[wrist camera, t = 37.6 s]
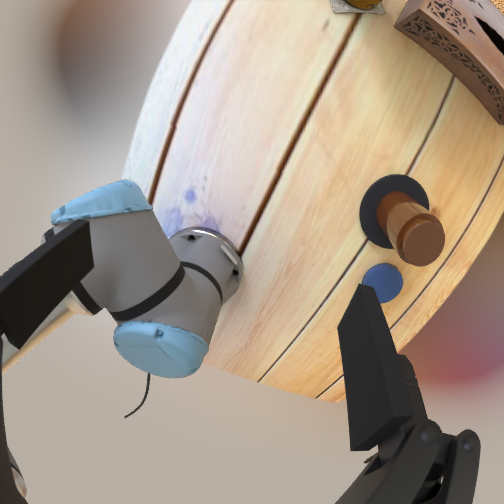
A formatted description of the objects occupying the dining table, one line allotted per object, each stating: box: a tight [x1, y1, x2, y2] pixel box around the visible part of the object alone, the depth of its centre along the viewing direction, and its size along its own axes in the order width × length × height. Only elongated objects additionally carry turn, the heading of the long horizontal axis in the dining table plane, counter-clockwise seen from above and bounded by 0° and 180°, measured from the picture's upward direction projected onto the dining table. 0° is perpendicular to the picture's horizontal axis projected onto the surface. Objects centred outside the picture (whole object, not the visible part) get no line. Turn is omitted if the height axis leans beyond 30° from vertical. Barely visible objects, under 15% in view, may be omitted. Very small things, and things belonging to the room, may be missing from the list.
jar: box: [376, 191, 445, 266], centre depth 35 cm, size 8×8×12 cm
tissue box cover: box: [394, 0, 504, 125], centre depth 20 cm, size 26×14×10 cm, turn 64°
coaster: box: [360, 175, 429, 249], centre depth 40 cm, size 13×13×1 cm
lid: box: [362, 263, 403, 304], centre depth 46 cm, size 8×8×2 cm
